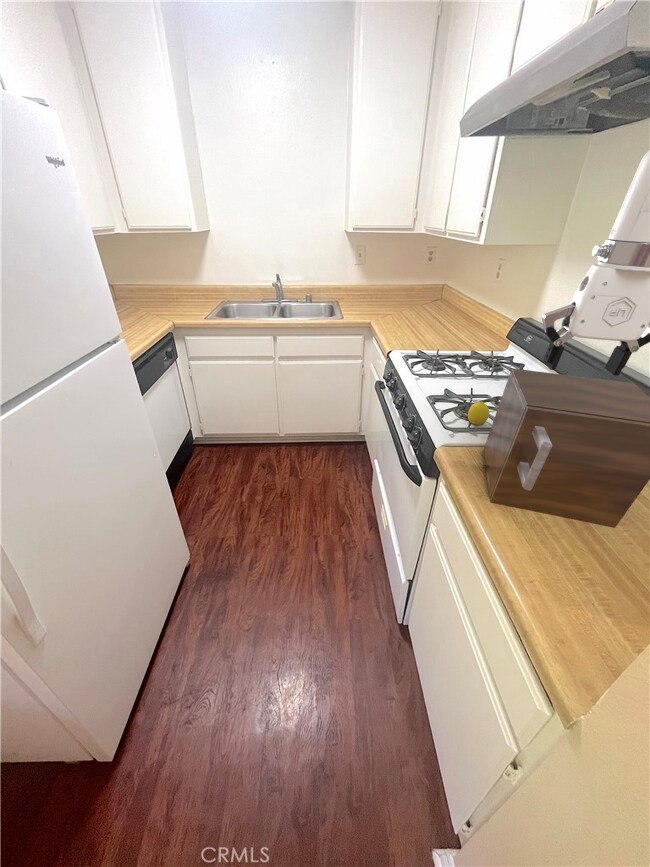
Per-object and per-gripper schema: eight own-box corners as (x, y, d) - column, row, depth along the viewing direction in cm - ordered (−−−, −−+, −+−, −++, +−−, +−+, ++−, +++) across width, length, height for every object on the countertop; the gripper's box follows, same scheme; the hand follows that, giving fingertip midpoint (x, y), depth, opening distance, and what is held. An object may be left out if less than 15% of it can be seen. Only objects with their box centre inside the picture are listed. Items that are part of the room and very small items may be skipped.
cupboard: (612, 523, 72) (681, 426, 58) (489, 499, 77) (527, 404, 64) (584, 470, 86) (634, 383, 73) (482, 453, 91) (511, 368, 78)
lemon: (488, 430, 101) (496, 406, 97) (470, 431, 100) (478, 407, 96) (478, 420, 106) (485, 396, 101) (461, 421, 105) (468, 398, 100)
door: (629, 554, 65) (710, 454, 52) (493, 525, 70) (536, 427, 57) (613, 524, 71) (681, 427, 58) (489, 499, 77) (527, 405, 64)
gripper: (578, 256, 47) (532, 373, 56) (722, 263, 45) (649, 384, 54) (557, 250, 53) (519, 356, 62) (683, 256, 51) (623, 366, 60)
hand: (579, 369), depth 58 cm, fingers open, 9 cm apart
